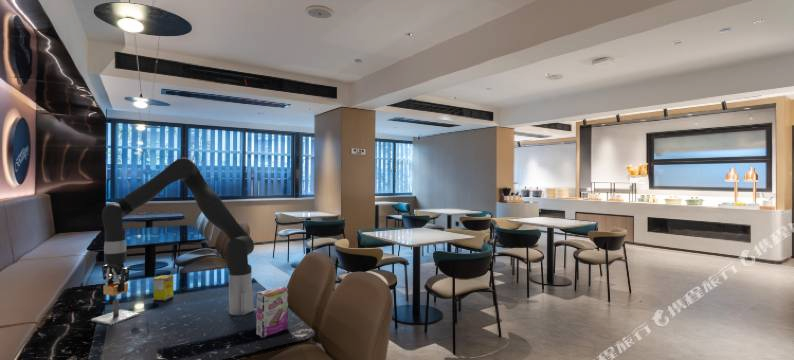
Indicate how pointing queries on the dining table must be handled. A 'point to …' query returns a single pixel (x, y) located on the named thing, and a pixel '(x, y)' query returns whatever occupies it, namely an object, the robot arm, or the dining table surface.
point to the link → (114, 289)
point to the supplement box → (163, 288)
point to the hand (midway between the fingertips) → (115, 290)
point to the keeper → (115, 315)
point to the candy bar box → (272, 311)
